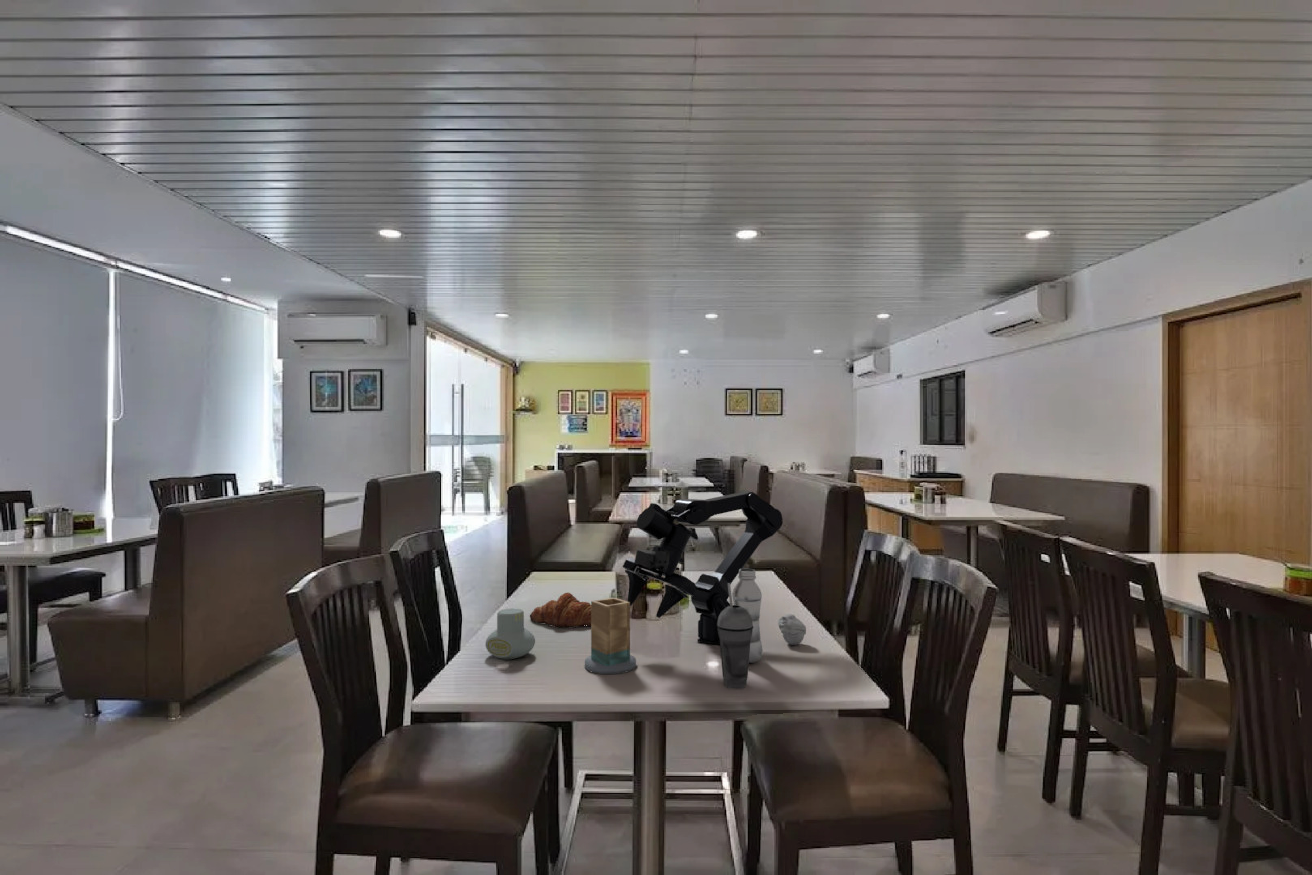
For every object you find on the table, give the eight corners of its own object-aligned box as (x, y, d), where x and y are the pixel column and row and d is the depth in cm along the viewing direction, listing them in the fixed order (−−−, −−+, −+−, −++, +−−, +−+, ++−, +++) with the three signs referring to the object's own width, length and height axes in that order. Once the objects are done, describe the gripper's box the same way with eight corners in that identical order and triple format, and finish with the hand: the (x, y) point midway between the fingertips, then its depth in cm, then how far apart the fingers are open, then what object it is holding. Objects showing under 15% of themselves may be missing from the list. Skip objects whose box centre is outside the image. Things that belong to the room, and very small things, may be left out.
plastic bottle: (744, 668, 143) (743, 573, 143) (726, 659, 149) (726, 568, 149) (768, 663, 146) (768, 571, 146) (750, 655, 152) (750, 566, 152)
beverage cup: (752, 692, 128) (752, 587, 129) (714, 689, 130) (714, 586, 130) (754, 679, 135) (754, 580, 136) (718, 677, 137) (718, 579, 137)
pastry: (586, 613, 191) (586, 585, 191) (608, 625, 178) (608, 595, 178) (528, 620, 183) (528, 591, 183) (547, 634, 170) (547, 602, 170)
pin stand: (644, 661, 147) (644, 637, 147) (621, 677, 137) (621, 651, 137) (600, 655, 151) (600, 632, 152) (575, 669, 141) (575, 645, 142)
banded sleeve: (614, 654, 148) (614, 597, 149) (629, 660, 144) (629, 602, 144) (591, 659, 145) (591, 601, 145) (606, 666, 140) (606, 606, 140)
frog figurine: (787, 638, 165) (787, 610, 165) (812, 644, 160) (811, 615, 160) (772, 643, 160) (772, 614, 160) (797, 650, 155) (797, 619, 155)
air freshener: (541, 653, 153) (541, 609, 153) (519, 664, 145) (519, 617, 146) (502, 647, 157) (502, 605, 158) (479, 657, 150) (479, 612, 150)
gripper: (623, 526, 157) (594, 587, 153) (683, 543, 145) (653, 611, 140) (650, 544, 165) (622, 603, 160) (709, 563, 152) (680, 628, 147)
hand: (642, 611), depth 152 cm, fingers open, 9 cm apart
